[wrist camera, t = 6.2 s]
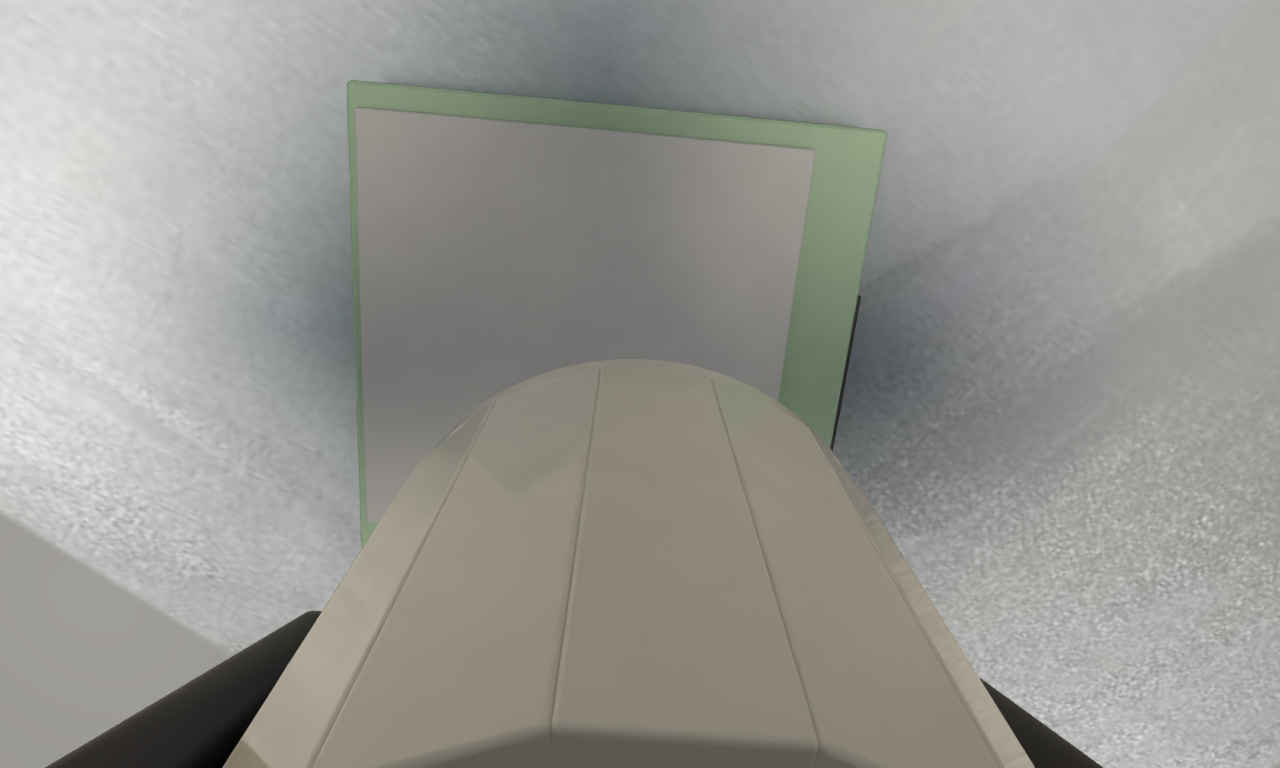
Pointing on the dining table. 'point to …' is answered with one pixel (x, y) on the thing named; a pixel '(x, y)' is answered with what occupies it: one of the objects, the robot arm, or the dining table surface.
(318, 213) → the dining table surface
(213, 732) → the robot arm
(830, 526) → the ramekin
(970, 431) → the dining table surface
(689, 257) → the scale
